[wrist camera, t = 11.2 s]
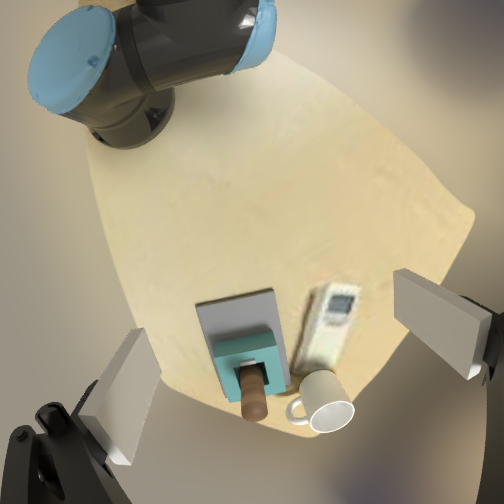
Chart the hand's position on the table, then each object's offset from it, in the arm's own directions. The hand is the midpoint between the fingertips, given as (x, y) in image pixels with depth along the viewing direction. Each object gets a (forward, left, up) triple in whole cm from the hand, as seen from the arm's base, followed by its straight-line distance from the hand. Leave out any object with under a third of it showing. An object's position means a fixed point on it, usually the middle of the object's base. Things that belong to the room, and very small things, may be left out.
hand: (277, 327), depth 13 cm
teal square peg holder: (+22, -4, -31) cm, 38 cm away
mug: (+33, +6, -32) cm, 46 cm away
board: (+20, -4, -32) cm, 38 cm away
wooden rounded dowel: (+22, -4, -31) cm, 38 cm away
